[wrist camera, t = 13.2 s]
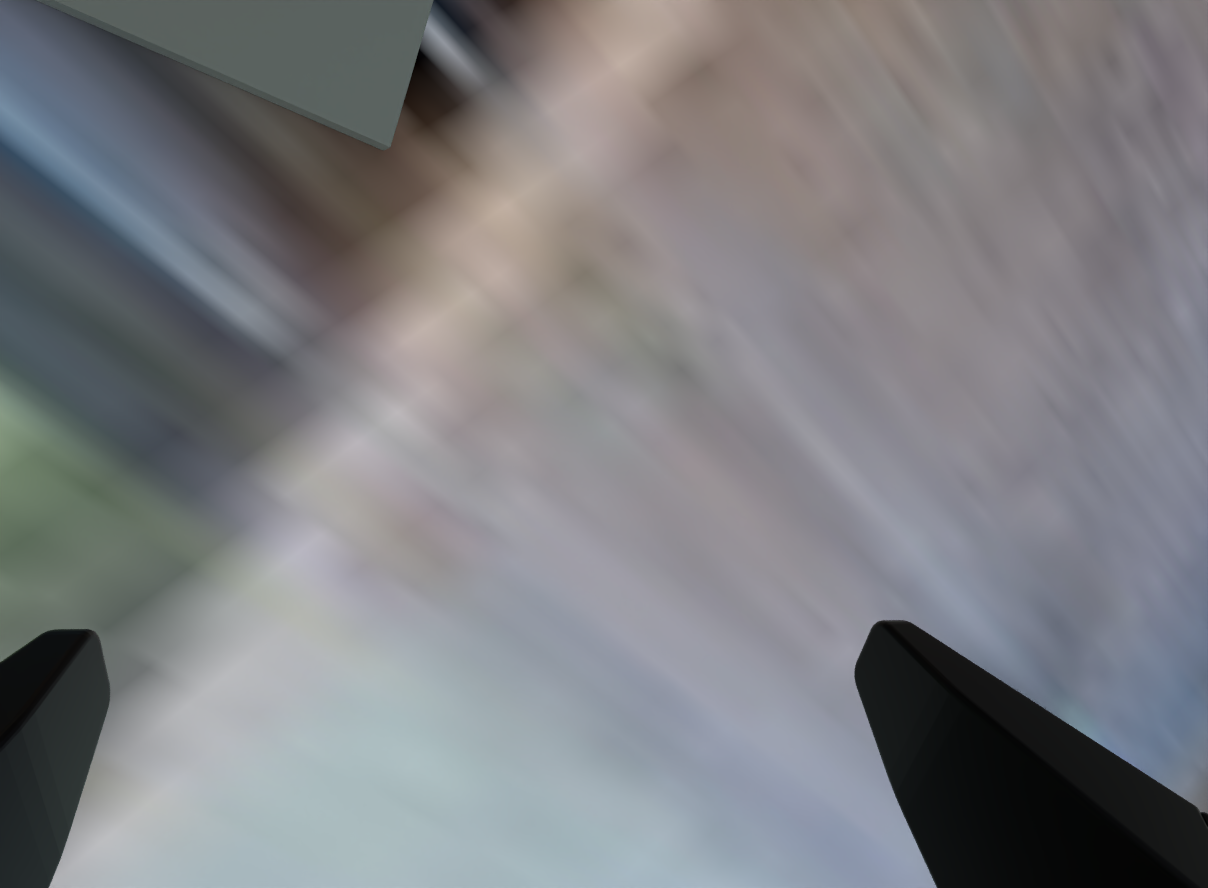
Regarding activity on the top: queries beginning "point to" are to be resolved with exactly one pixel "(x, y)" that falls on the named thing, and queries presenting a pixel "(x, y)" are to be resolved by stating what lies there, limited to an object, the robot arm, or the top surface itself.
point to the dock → (285, 50)
